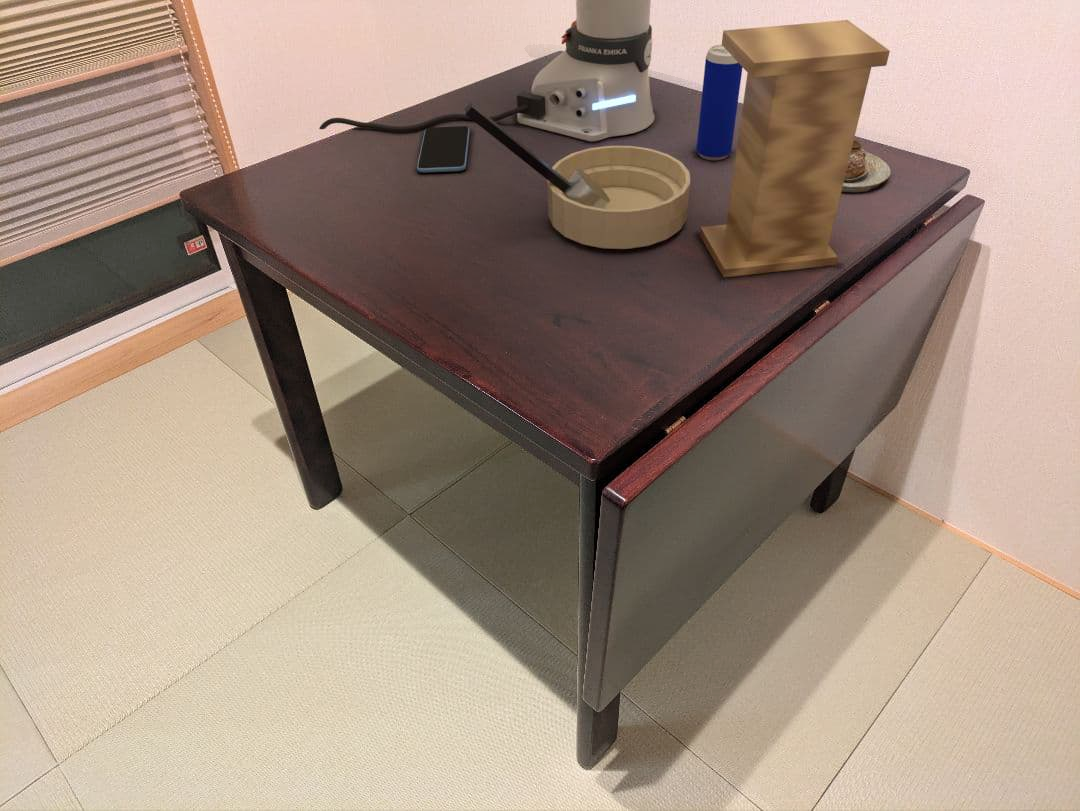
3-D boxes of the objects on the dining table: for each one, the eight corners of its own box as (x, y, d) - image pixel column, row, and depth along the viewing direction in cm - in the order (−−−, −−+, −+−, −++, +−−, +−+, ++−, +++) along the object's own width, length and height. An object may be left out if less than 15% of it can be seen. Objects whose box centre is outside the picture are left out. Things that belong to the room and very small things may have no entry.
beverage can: (734, 149, 120) (748, 46, 110) (725, 163, 116) (739, 58, 106) (701, 144, 121) (712, 42, 111) (691, 158, 118) (702, 54, 108)
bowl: (527, 238, 103) (524, 196, 99) (579, 177, 115) (579, 137, 111) (661, 265, 97) (665, 222, 93) (702, 198, 109) (706, 157, 105)
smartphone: (469, 124, 128) (465, 166, 117) (470, 130, 128) (466, 171, 117) (424, 126, 128) (415, 168, 117) (424, 131, 128) (416, 173, 117)
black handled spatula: (588, 204, 107) (603, 188, 106) (598, 225, 103) (614, 208, 102) (461, 102, 95) (477, 83, 94) (467, 121, 91) (483, 101, 90)
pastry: (784, 176, 113) (790, 145, 110) (827, 147, 119) (834, 117, 116) (862, 202, 106) (871, 170, 103) (903, 171, 113) (913, 140, 110)
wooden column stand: (723, 277, 95) (754, 62, 78) (699, 235, 102) (722, 30, 85) (835, 265, 96) (890, 50, 79) (804, 224, 103) (847, 19, 86)
